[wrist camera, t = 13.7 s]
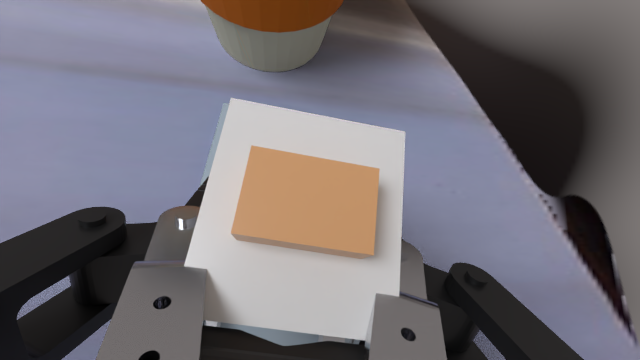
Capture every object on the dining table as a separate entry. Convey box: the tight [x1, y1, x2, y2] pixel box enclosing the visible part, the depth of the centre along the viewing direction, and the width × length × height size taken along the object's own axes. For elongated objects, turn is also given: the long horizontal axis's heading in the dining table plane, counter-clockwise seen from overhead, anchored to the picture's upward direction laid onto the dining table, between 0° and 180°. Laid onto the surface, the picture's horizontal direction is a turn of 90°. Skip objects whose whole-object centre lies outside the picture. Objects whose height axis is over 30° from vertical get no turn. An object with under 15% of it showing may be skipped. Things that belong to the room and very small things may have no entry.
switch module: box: [184, 98, 405, 341], centre depth 10 cm, size 4×4×11 cm
